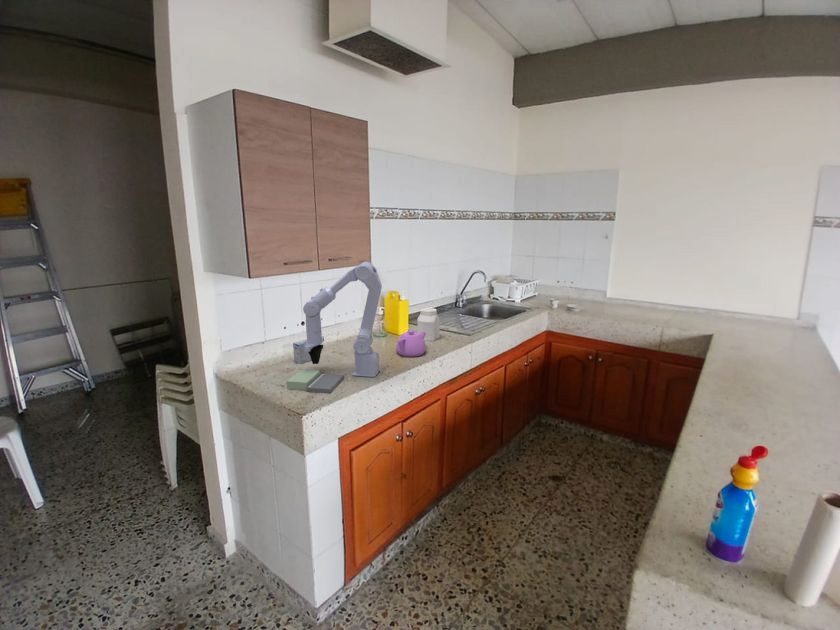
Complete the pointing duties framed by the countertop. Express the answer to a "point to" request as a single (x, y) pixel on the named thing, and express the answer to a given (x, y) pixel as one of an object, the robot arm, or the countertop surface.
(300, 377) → the thick sage green slab
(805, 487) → the countertop surface
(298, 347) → the medicine box
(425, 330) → the jar
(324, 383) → the ticket body
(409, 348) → the teapot
